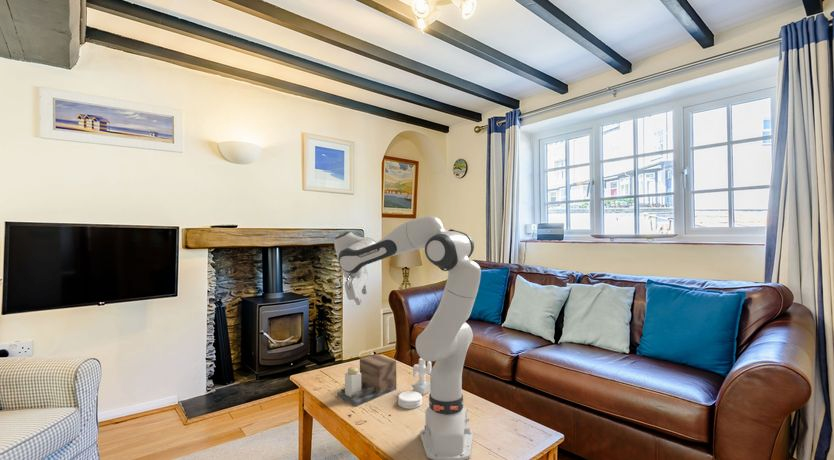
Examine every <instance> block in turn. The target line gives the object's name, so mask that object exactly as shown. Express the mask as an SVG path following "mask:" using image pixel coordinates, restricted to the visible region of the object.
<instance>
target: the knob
mask: <svg viewBox="0 0 834 460" xmlns="http://www.w3.org/2000/svg"><path fill="white" fill-rule="evenodd" d="M344 388H345V394H346V395H348V396H350V397H351V395H353V394H355V393H358V392H360V391H361V373H360V371H359V366H350V367H348V368H347V372H345V373H344Z"/></svg>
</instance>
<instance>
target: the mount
mask: <svg viewBox="0 0 834 460" xmlns="http://www.w3.org/2000/svg"><path fill="white" fill-rule="evenodd" d="M359 372H360V373H361V391H360V392H358V393H355V394H353V395H351V397H350V396H348V395H346V394H345V387H344V388H341V389H340V391H338V392H336V395H337V397H338V398H340V399H342V400H344V401H345V402H348V403H350V404H351V405H354V406H356V407H358V406H360V405H363V404H365V403H368V402H370V401H373V400H375V399H377V398H380V397H381V396H384V395H386V394H389V393H391V392H394V391H396V390H397V360H396V359H392V358H389V357H387V356H383V355H381V354H378V353H375V354H372V355H369V356H366V357H362V358H360V359H359Z"/></svg>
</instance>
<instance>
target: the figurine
mask: <svg viewBox="0 0 834 460" xmlns="http://www.w3.org/2000/svg"><path fill="white" fill-rule="evenodd" d="M432 368H433V366H432V361H425V360H423V359H422V358H421V357H420V358H419V359H418V363H417V364H414V365H413V367H412V370H413V371H412V373H413V374H412V375H413V377H419V378H418V379H419V380H417V381H415V382H412V383H411V384H410V385H411V387H412V389H413V391H415V392H418V393H420V394H421V395H422V396H424V395H426V394H427V393H430V381H427V380H426V375H430V373H431V370H432ZM418 372H419V373H418ZM418 374H419V375H418Z"/></svg>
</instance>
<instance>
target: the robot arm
mask: <svg viewBox="0 0 834 460" xmlns="http://www.w3.org/2000/svg"><path fill="white" fill-rule="evenodd" d="M333 244H334V249H335V253H336V256H337V258H338V259H337V260H338V265H339V267H340V268H341V272H342V275H343V277H344V278H345V280H346V281H345V282H344V289H345V293H346V297H347V299H348V300H349V301H351V300H352V301H354V302H355V304H356V305H357V306H359V305H361V304H362V300H361V299H360V298H359V296H360V294H361V293H362V295H366V294H367V293H368V290H367V281H368V280H369V274H368V270H367V265H369V264H372V263H374V262H375V263H376V262H378V261H380V260H383V259H387V258H389V257H393V256H398V255H402V254H405V253H409V252H413V251H414V252H415V251H417V250H421V249H424V255H425V257H426V259H427V260H428V261H429V262H430V263H431V264H432V265H434V266H436V267H438V268H439V269H440V270H441V271H443V272H447V273H448V275H447V278H446V282H445V286H444V289H443V291H442V295H441V299H440V301H439V304H438V306H437V308H436V310H435V313H434V314H433V316H432V318H431V319H430V321H429V322H428V324H427V325H426V327H425V328H424V330H423V331H422V332H420V333H419V334H418V335H417V337H416V339H415V350H416V352H417V355H418V356H419V357H420V358H422V359H423V360H425V362H429V361H431V362H434V364H433V366H432V370H431V373H430V374H429V376H430V377H429V379H430V381H429V382H430V391H429V395H428V405H429V406H428V407H427V408H426V409H425V411H424V413H425V417H424V421H425V422H424V428H423V429H420V431H419V436H420V440H421V444H422V446H423V449H424V453H425V455H426V458H428V459H430V460H468V459H470V458H471V456H472V455H471V454H472V448H473V447H472V446H473V439H474V431H473V430H472V429H471V427H470V426H468V423H469V421H470V419H469V417H468V410H467V409H466V407H464V395H463V392H462V389H463V387H462V385H463V382H462V381H463V369H464V365H465V360H466V356H467V352H468V349H469V347H470V345H471V344H472V341H473V338H474V333H473V330H472V328H471V326H470V324H468V323H467V322H466V321H467V320H469V318H470V316H471V313H472V311H473V307H474V304H475V301H476V298H477V294H478V292H479V287H480V283H481V277H482V276H481V275H482V270H481V266H480V265H479V264H478V263H477V262H475V261H474V260H472V259H470V257H471V256H472V255H473V253H474V250H475V241H474V240H473V239H472V237H471V236H470V235H469V234H467V233H465V232H462V231H459V230H455V229H451V228H450V229H448V230H447V229H445V227H444V224H443V222H442V220H441V219H440V218H438V217H437V216H434V215H428V216H422V217H417V218H414V219H411V220H407V221H405V222H403V223H401V224H399V225H398V226H396V227H395V228H394V229H393V230H391V231H390V232H389V233H388V234H386V235H385V236H384V237H382V238H381V239H380V240H378V241H375V240H374V239H373V238H370V237H362V236H358V235H356V234H354V233H353V232H351V231H345V232H343V233H341V234H339V235H338V236H336V237H335V238H334V240H333Z"/></svg>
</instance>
